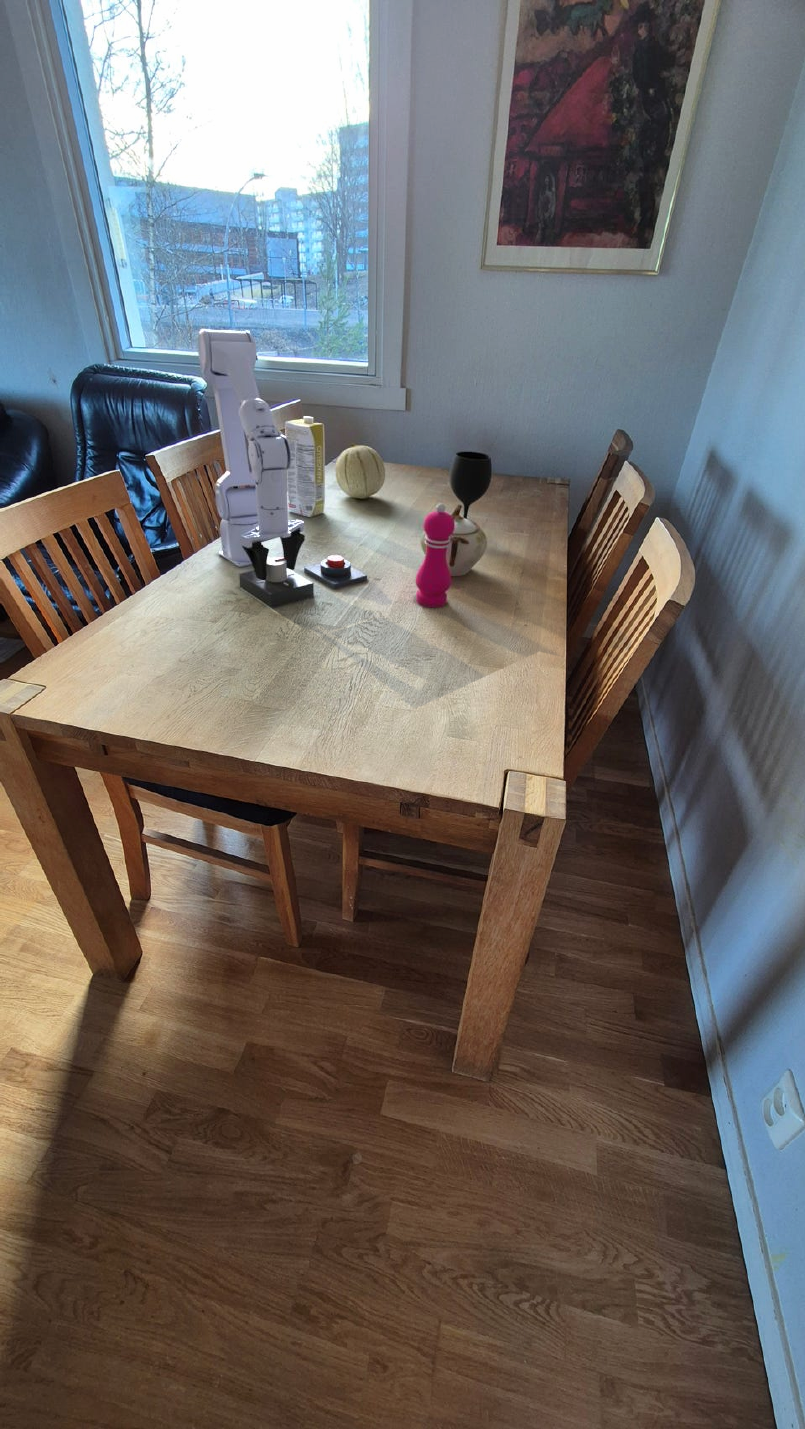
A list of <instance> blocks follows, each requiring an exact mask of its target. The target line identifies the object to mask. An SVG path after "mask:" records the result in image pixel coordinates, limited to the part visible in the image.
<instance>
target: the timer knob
mask: <svg viewBox="0 0 805 1429" xmlns="http://www.w3.org/2000/svg"><path fill="white" fill-rule="evenodd" d="M266 568H267V577H266V580H267V581H270V582H282V581H285V580H286V579H287V564H286V560H285V558H284V556H282V557H279V556H270V557H269V558H267V564H266Z"/></svg>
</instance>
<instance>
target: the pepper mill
mask: <svg viewBox="0 0 805 1429" xmlns="http://www.w3.org/2000/svg"><path fill="white" fill-rule="evenodd" d="M446 508H447V507H446V505H445V504H444V503H438V504H437V505H436V507H435V510H434V511H431V512H430V513H428V514H427V515H426V516H425V518H424V521H423V532H424V531H425V532H426V534H427V535H426V536H425V544H426V556H425V555H424V559H423V561H422V563H421V565H420V567H419V569H418V571H417V573H416V576H415V585H416V587H417V588H418V590H417V591H416V599H415V600H416V602H417V603H418V604H419V605H421V606H424V607H427V608H440V607H443V606H445V605H446V603H447V598H448V593H447V591H449V589H450V587H451V585H452V576H450V572H449V568H448V565H447V561H446V551H447V547H449V546H450V540H451V539H450V537H449V536H450V535H451V534H452V533H453V531H454V527H455V524H454V520H453V517H452V516H451V514H450V513H449V512H447V511H446V510H447V509H446Z"/></svg>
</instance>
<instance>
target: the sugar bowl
mask: <svg viewBox="0 0 805 1429" xmlns="http://www.w3.org/2000/svg"><path fill="white" fill-rule="evenodd" d="M462 508H463V506H462V504H459V503H458V504H457V505H456V507H455V509H454V511H453V512H452V513H451V514H450V515H451V516H452V517H453V520H454V524H455V527H454V531H453V533H452V534H451V535H450V536H449V537H450V539H451V540H450V546H449V547H447V551H446V561H447V565H448V568H449V572H450V576H451V577H460V576H461V577H462V576H465V575H467V574H468V573H469V572H470V571H471V570H472V569H473V567H475V565H476V564H477V563H478V562H479V561H480V560H481V559H482V557H483V556H484V554H485V553H486V551H487V547H488V539H487V536H486V533H485V531H483V529H482V528H481V527H480V525H479V524H478V523H477V522H476V521H473V520H470V519H468V518H467V519H465V518H463V517H462V516H461V515H460V513H461V510H462ZM426 535H427V534H426V532H425V531H424V530H423V531H422V534H421V536H420V546H421V550H422V552H423V554H424V557H425V556H426V544H425V536H426Z"/></svg>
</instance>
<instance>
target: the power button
mask: <svg viewBox="0 0 805 1429" xmlns="http://www.w3.org/2000/svg"><path fill="white" fill-rule="evenodd" d="M326 559H327V565H328V566H331V567H342V566H344V559H345V557H344V556H343V555H339V554H331V555H328V556H327V557H326Z"/></svg>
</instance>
